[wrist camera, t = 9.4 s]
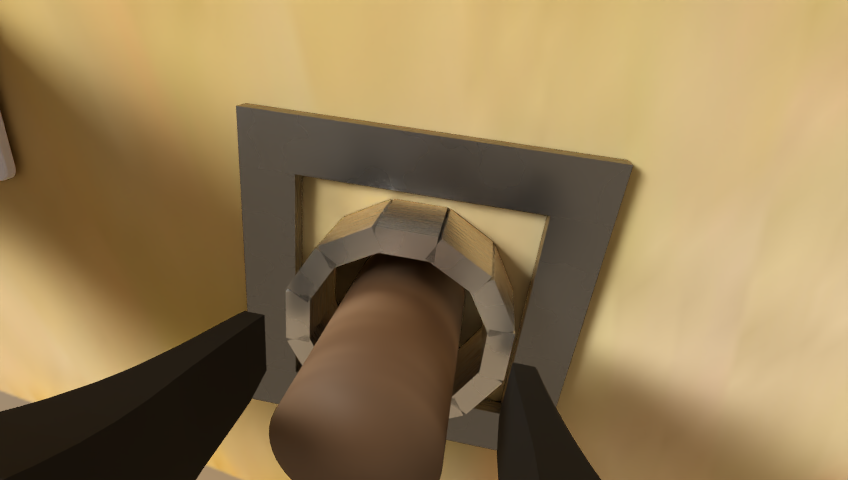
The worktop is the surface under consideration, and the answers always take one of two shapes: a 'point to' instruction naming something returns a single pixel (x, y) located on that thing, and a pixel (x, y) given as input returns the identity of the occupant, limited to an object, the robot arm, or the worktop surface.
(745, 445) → the worktop surface
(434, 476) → the walnut peg
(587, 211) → the cup bracket
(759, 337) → the worktop surface
